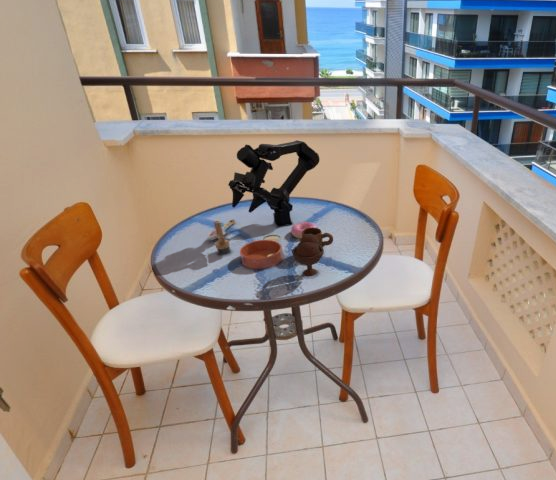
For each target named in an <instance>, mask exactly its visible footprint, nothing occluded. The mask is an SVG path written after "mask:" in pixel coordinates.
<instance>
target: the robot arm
mask: <svg viewBox="0 0 556 480" xmlns="http://www.w3.org/2000/svg"><path fill="white" fill-rule="evenodd" d="M295 153H296V156H297V157H298V158H297V165H295V167H294V168H293V170H292V171H291V172H290V174H289V175H288V176H287V177H286V179H285V180H284V182H283V183H282V184H281V185H280V187H278V188H277V187H272V189H271V190H270V191H269V190H267V189H266V188H264V187H261V186H262V184H265V183H266V180H265V177H266V174H267V173H268V171H269V170H270V171H273V170H274V167H273V165H272V163H271V162H275V161H276V160H279V159H280V158H281V157H282V156H285V155H286V156H287V155H290V154H295ZM236 159H237V160H238V161H239V162H240V163H242V164H243V165H245V166H246V167H247V168H249V169H250V171H246V172H245V174H244V173H240V172H235V171H234V173H233V179H231V180H229V182H228V183H227V186H228V187H229V189H230V190H231V192H232V203H231V207H232V208H236V207H237V206H238V204H239V203H240V202H241V201H242V199H243V198H244V196H245V193H246V192H247V193H251V194H252V201H251V202H250V205H249V208H248V213H250V214H251V213H252V212H254V211H255V210H257V209H258V208H259V207H260V206H261V205H263V204H264V203H267V206H268V207H269V209H270V210H272V211H273V212H272V214H273V221H274V224H275V225H276V226H277V227H283V226H284V227H285V226H291V225H293V222H292V220H291V219H292V218H291V211H293V207H294V206H293V204H292V203H290V195H291V194H292V192H293V191H294V190H295V189H296V187H297V186H298V184H299V183H300V182H301V180H302V179H303V178H304V176H306V174H307V173H308V172H310V171H311V170H313V169H315V168H316V167H317V166H318V165H319V163H320V160H321V159H320V155H319V153H318V152H316V150H314V149H313V148H312V147H310V146H309V145H308V144H307V142H305V141H302V140H298V139H297V140H294V141H288V142H283V143H279V144H271V143H260V144H259V145H258V147H256V148H253V147H252V146H251V145H250V144H246V143H245V145H244V146H243V147H241V148H240V149H239V150H238V151H237V152H236ZM267 161H269V162H267Z"/></svg>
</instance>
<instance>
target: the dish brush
mask: <svg viewBox="0 0 556 480" xmlns="http://www.w3.org/2000/svg"><path fill="white" fill-rule="evenodd" d="M213 225H214V229H216V233H217V237H218V238H217V241H215V248H216V250H217V254H218V255H221V256H225V255H229V254H230V253H231V248H230V241H229V240H228V239H225V236H224V235H223V232H222V227H223V226H222V223H221V221H219V220H215V221H214V222H213Z"/></svg>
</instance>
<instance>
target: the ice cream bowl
mask: <svg viewBox="0 0 556 480" xmlns="http://www.w3.org/2000/svg"><path fill="white" fill-rule="evenodd" d="M299 239H300V241H299V242H298V243H297V245H296V246H294V247H293V249H292V250H291V254H292V256H293V258H294V261H296V263H298V264H300V265H303V266H306V269H305V270H303V272H302V275H303V276H304V277H314V276H316V275H317V274H318V270H317V269H315V268H313V265H316V264H317V263H319V261H320V260H321V259H322V258H323V255H324V251H325V249H324V247H323V248H322V246H321V245H318V243H319V240H318V238H317V237H316V236H315V235H313V234H305V235H304V236H303V237H302V238H299Z"/></svg>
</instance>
